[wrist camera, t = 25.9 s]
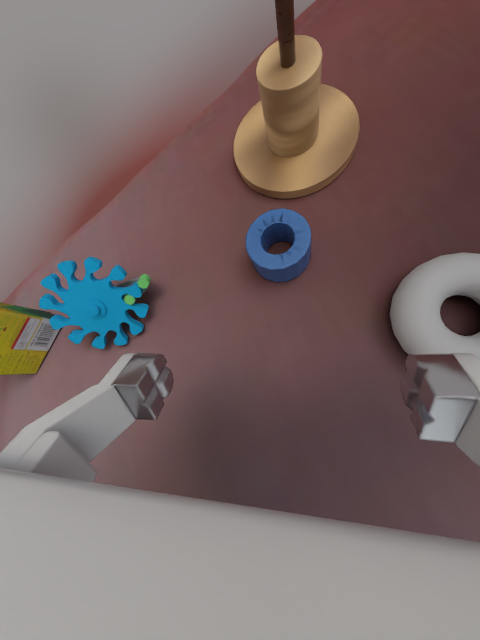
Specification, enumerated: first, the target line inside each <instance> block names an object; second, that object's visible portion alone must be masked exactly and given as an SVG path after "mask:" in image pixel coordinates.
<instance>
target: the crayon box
mask: <svg viewBox="0 0 480 640" xmlns="http://www.w3.org/2000/svg"><path fill="white" fill-rule="evenodd" d="M53 316H54V315H53V314H51V313H50V312H46V311H40V310H35V309H30V308H25V307H20V306H15V305H10V304H5V303H0V375H10V374H11V375H13V374H36V373H37V372H38V370H39V366H40V365H41V363H42V361H43V359H44V358H45V356H46V354H47V352H48V350H49V348H50V347H51V345H52V343H53V341H54V339H55V337H56V335H57V334H58V332H59V330H60V329H58V330H55V329H53V328H52V326H51V325H50V322H49V319H50V318H51V317H53Z"/></svg>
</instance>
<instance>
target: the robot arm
mask: <svg viewBox="0 0 480 640" xmlns="http://www.w3.org/2000/svg"><path fill="white" fill-rule="evenodd" d="M166 362H167V361H166V359H165V357H164V355H162V354H145V353H137V354H133V353H126V354H124V355H122V356H121V357H120V358H119V360H118V361H117V362H116V363H115V365H114V366H113V367H112V368H111V369H110V371H109V372H108V373H107V374H106V375H105V377H104V378H103V379H102V380H101V381H100V383H99V384H98V385H93V386H92V387H90V388H88V389H87V390H85V391H83V392H82V393H80V394H78V395H77V396H75V397H73V398H72V399H70V400H68V401H67V402H65V403H63V404H62V405H60V406H58V407H57V408H55V409H53V410H52V411H50V412H48V413H47V414H45V415H43V416H42V417H40V418H38V419H37V420H35V421H33V422H32V423H30V424H29V425H27V426H25V427H24V428H23V429H22V430H21V431H20V432H19V433H18V434H17V435H16V436H15V438H14V439H13V440H12V441H11V442H10V443H9V444H8V445H7V446H6V447H5V448H4V449H3V450H2V451H1V452H0V640H480V542H477V541H471V540H464V539H458V538H451V537H445V536H438V535H432V534H425V533H419V532H412V531H406V530H400V529H393V528H387V527H380V526H374V525H367V524H361V523H354V522H348V521H341V520H335V519H329V518H322V517H316V516H309V515H303V514H296V513H290V512H283V511H277V510H270V509H264V508H258V507H251V506H245V505H238V504H232V503H225V502H219V501H212V500H206V499H199V498H193V497H187V496H180V495H174V494H167V493H161V492H154V491H148V490H141V489H135V488H128V487H122V486H115V485H109V484H102V483H96V482H93V481H94V479H95V478H96V476H97V470H96V469H95V468H94V467H93V466H92V465H91V464H90V462H91V461H92V460H93V459H94V458H95V457H96V456H97V455H98V454H99V453H101V452H102V451H103V450H104V449H105V448H106V447H107V446H108V445H109V444H110V443H112V442H113V441H114V440H115V439H116V438H117V437H118V436H119V435H120V434H121V433H122V432H124V431H125V430H126V429H127V428H128V427H129V426H130V425H131V424H132V423H133V422H135V421H136V419H147V420H156V419H157V418H158V416H159V414H160V412H161V410H162V408H163V406H164V401H163V399H164V398H165V397H167V396H168V395H169V394H170V392H171V390H172V387H173V381H174V380H173V374H172V372H171V370H170V369H169V368H168V367H166V366H165V365H166ZM405 365H406V367H407V369H408V370H407V371H406V372H405V373H403V374H402V378H401V393H402V397H403V400H404V403H405V405H406V406H407V407H409V408H410V409H411V410H412V411H413V412H412V415H411V421H412V423H413V426H414V428H415V430H416V433H417V435H418V438H419V439H421V440H431V441H441V442H451V443H455V445H456V446H457V447H458V448H459V449H460V450H461V451H462V452H464V453H465V454H466V455H467V456H468V457H469V458H470V459H471V460H472V461H473V462H474V463H475V464H476V465H478V466H479V467H480V360H479V359H478V358H477V356H476V355H474V354H472V353H450V354H409V355H408V356H407V358H406V362H405Z"/></svg>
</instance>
